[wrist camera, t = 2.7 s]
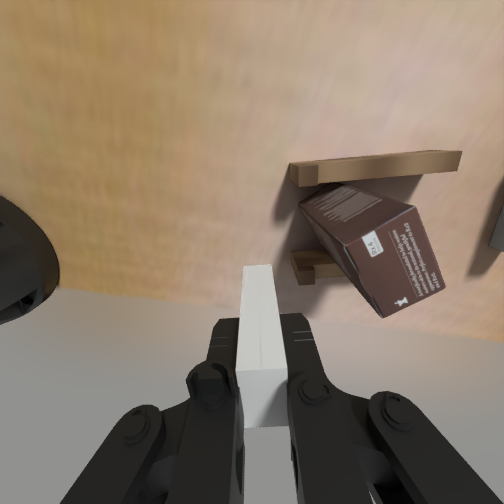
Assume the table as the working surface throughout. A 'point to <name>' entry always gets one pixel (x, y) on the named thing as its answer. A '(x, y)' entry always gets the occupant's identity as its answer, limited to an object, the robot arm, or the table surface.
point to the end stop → (498, 233)
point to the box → (375, 245)
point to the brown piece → (358, 168)
